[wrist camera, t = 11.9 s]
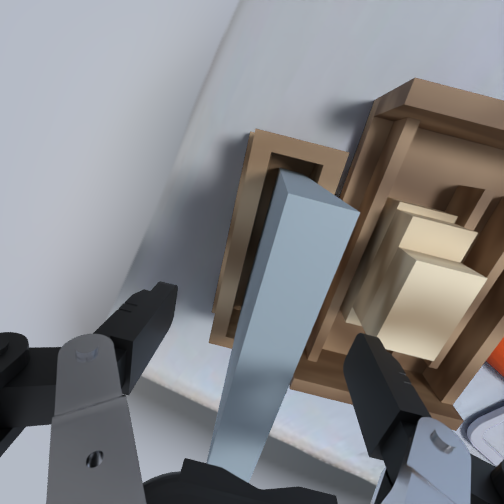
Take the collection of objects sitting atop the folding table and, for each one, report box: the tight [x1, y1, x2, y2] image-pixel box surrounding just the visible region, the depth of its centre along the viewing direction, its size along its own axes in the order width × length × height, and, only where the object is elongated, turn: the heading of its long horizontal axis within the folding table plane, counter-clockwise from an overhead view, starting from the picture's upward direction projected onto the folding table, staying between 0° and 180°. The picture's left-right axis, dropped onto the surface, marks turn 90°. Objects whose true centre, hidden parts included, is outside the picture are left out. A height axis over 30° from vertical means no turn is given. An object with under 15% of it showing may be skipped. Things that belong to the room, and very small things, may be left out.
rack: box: [290, 78, 504, 431], centre depth 19 cm, size 22×14×6 cm, turn 167°
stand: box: [209, 129, 349, 349], centre depth 20 cm, size 16×7×5 cm, turn 167°
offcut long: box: [340, 197, 458, 326], centre depth 20 cm, size 10×4×2 cm, turn 167°
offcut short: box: [361, 247, 488, 361], centre depth 16 cm, size 6×4×2 cm, turn 167°
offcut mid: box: [353, 209, 478, 323], centre depth 18 cm, size 8×4×2 cm, turn 167°
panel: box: [207, 168, 360, 483], centre depth 15 cm, size 12×2×14 cm, turn 166°
